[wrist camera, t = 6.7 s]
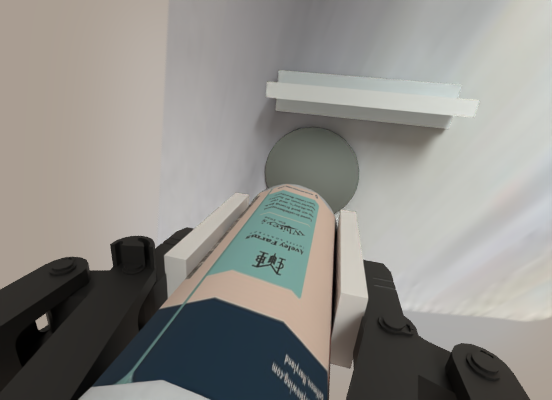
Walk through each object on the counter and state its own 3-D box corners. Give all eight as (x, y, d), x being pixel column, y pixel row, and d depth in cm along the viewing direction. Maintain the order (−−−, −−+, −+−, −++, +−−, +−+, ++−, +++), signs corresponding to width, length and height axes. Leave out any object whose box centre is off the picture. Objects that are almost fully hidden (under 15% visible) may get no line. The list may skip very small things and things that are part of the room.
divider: (280, 70, 22) (268, 64, 18) (458, 85, 20) (486, 81, 16) (276, 110, 23) (264, 112, 19) (445, 128, 21) (468, 134, 17)
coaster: (270, 122, 23) (268, 122, 23) (367, 133, 22) (368, 133, 22) (263, 209, 26) (262, 210, 26) (349, 223, 25) (349, 225, 25)
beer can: (267, 270, 16) (111, 635, 5) (235, 196, 15) (-56, 461, 4) (349, 252, 15) (376, 712, 4) (319, 168, 14) (229, 468, 2)
